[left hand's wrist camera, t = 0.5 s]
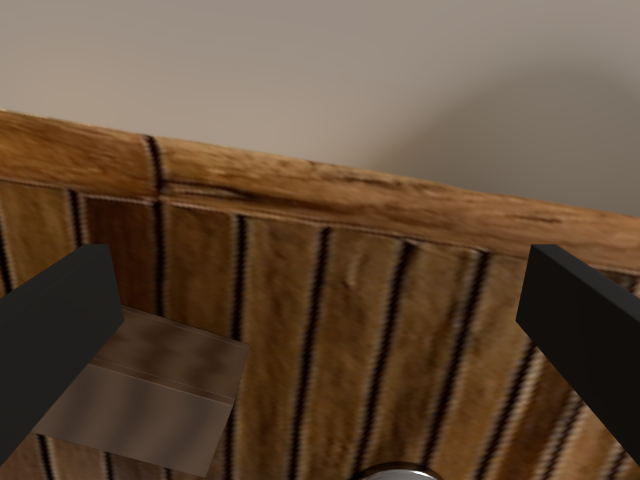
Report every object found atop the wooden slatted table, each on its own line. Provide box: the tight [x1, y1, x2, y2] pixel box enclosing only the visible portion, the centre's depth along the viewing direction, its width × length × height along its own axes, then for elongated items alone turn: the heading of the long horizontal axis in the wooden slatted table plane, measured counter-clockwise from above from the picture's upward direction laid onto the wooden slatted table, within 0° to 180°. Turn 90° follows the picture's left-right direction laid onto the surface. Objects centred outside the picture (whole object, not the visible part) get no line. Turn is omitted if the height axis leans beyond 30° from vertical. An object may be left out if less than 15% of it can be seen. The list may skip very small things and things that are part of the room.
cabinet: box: [30, 305, 250, 477], centre depth 41 cm, size 18×10×10 cm, turn 69°
